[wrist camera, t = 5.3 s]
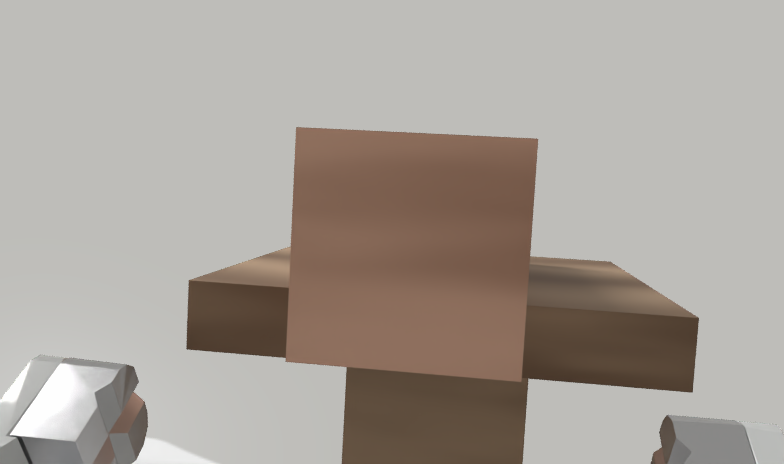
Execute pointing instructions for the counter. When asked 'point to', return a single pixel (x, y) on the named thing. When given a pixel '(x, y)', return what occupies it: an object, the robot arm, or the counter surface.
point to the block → (411, 252)
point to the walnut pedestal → (463, 394)
